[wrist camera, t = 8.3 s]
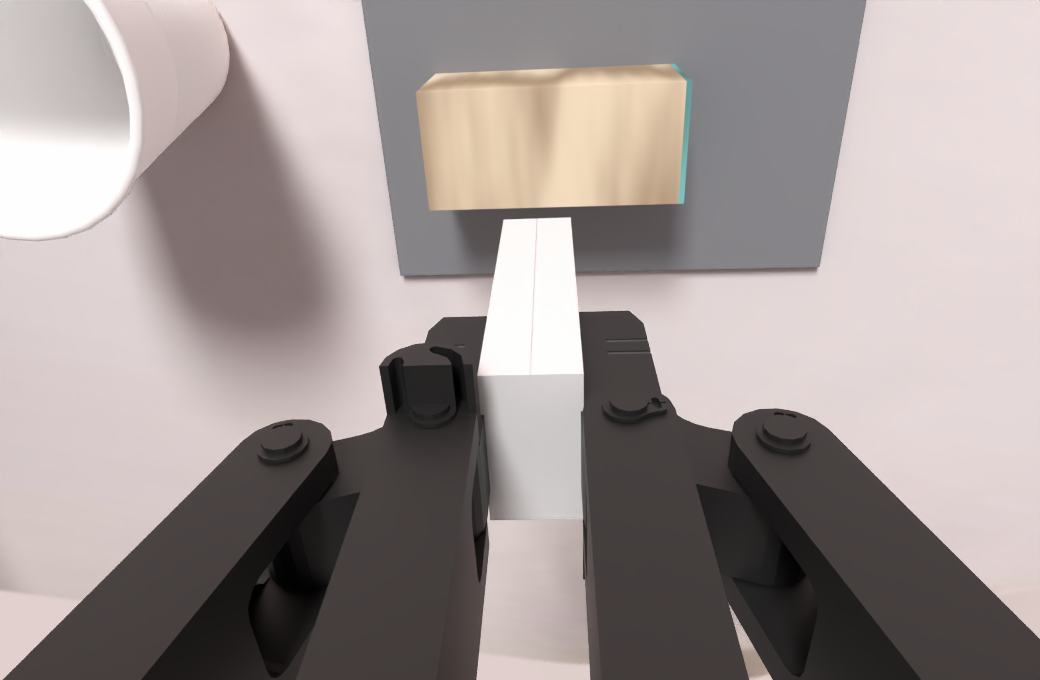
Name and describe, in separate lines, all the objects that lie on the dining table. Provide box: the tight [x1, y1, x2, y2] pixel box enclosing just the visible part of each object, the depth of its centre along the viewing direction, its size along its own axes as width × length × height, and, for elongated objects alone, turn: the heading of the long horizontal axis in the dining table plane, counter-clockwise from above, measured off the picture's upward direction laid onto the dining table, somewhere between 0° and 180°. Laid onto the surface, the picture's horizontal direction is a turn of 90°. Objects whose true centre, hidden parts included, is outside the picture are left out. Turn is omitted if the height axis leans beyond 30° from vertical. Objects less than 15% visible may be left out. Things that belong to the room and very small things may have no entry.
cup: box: [0, 0, 230, 241], centre depth 25 cm, size 10×10×11 cm
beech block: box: [416, 64, 692, 211], centre depth 28 cm, size 4×4×10 cm
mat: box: [362, 0, 866, 276], centre depth 29 cm, size 20×18×1 cm
